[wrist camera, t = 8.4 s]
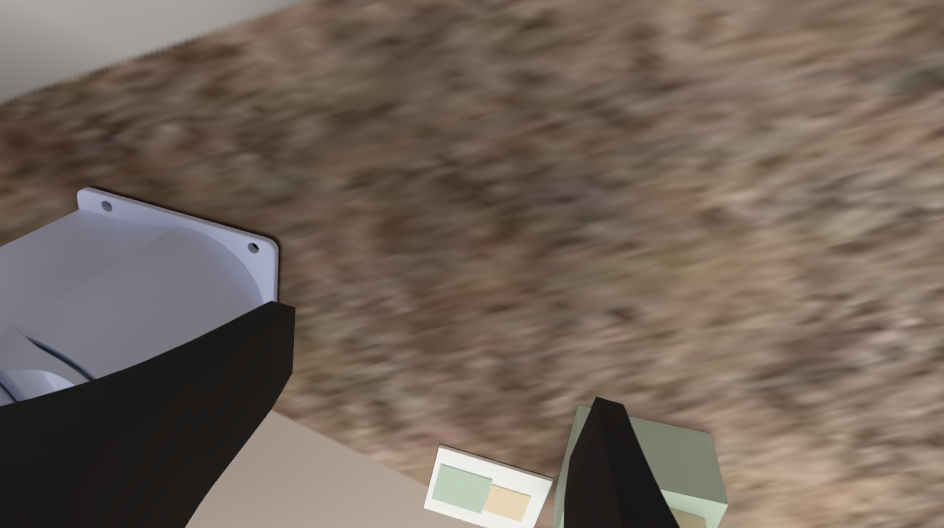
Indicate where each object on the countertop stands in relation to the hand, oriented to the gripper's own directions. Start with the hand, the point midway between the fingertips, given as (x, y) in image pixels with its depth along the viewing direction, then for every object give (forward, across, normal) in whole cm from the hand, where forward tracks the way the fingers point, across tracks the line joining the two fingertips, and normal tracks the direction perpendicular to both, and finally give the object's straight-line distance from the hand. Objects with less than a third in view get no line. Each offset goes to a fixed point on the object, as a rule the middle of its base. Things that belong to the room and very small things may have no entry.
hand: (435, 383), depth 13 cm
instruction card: (+10, -3, +16) cm, 19 cm away
